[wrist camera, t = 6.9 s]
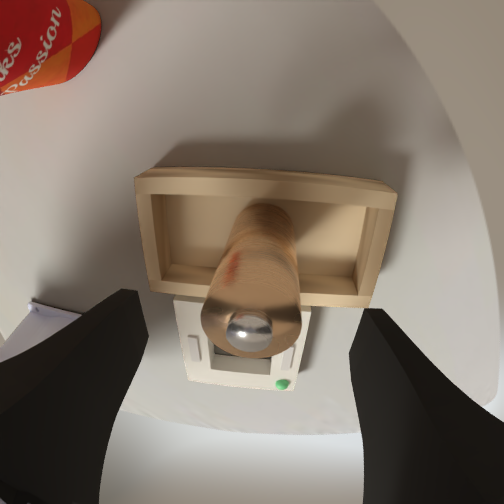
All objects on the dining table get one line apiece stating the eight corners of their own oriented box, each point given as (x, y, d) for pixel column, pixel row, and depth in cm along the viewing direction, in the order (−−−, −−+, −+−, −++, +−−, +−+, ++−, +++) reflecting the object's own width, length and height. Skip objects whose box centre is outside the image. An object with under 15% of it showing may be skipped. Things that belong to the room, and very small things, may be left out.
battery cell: (232, 256, 16) (201, 363, 9) (232, 201, 14) (192, 288, 8) (291, 261, 16) (295, 371, 9) (297, 205, 14) (310, 298, 8)
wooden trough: (163, 270, 17) (150, 291, 15) (152, 167, 14) (133, 177, 12) (359, 285, 16) (368, 308, 14) (382, 181, 13) (397, 193, 11)
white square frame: (192, 366, 21) (186, 385, 20) (180, 285, 18) (170, 305, 16) (293, 375, 21) (293, 396, 19) (309, 296, 17) (311, 317, 15)
